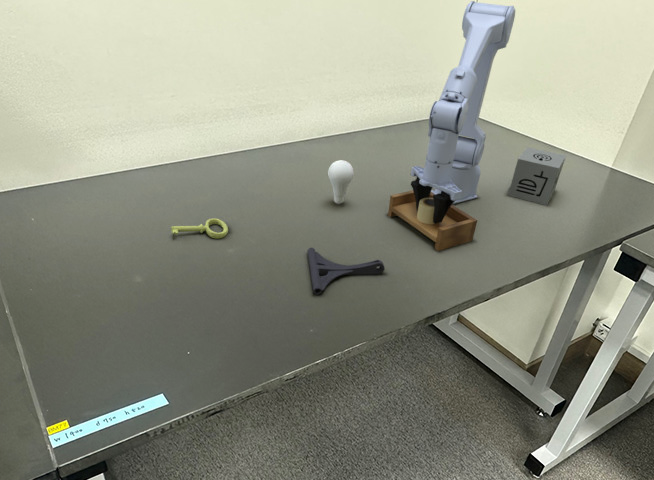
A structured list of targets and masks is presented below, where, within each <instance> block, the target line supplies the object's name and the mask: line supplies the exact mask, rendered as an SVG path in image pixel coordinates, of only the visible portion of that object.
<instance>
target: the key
mask: <svg viewBox="0 0 654 480" xmlns="http://www.w3.org/2000/svg"><path fill="white" fill-rule="evenodd" d="M211 225H218V226H220V227H221V228H222V231H221V232H216V231H213V230H212V229H211V228H210V226H211ZM170 228H171V229H170V231H171V233H172V235H174V236H175V235H179V233H184V232H185V233H186V232H188V233H190V232H200V234H203V232H205V233H206V234H207V235H208V237H210V238H212V239H223V238H225V237H226V236H227V234H228V233H229V228H228V225H227V224H226V222H225V221H223V220H221V219H219V218H216V217H215V218H209V219H207V220H206V221H205V225H203V224H202V223H200V224H199V225H176V226H175V225H173V226H171V227H170Z"/></svg>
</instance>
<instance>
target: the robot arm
mask: <svg viewBox="0 0 654 480" xmlns="http://www.w3.org/2000/svg"><path fill="white" fill-rule="evenodd" d="M462 16H463V18H462V21H461V29H462V37H463V38H464V39H465V42H464V45H463V49H462V52H461V55H460V58H459V62H458V66H456V67H454V68H452V69H451V70H450V71H449V74H448V76H447V78H446V82H445V84H444V87H443V89H442V91H441V94H440V96H439V98H438V100H435V101H434V102H433V103H432V106H431V108H430V112H429V116H428V132H427V136H428V138H429V139H428V145H427V149H426V150H427V151H426V157H425V162H424V167H422V166H420V165H416V166H412V167H411V168H410V169H411V170H410V176H411V177H416V178H415V180H412V181H411V182H410V186H411V189H412V190H413V191H414V195H415V200H416V210H417V212H418V207H419V201H420V200H421V199H423V198H429V195H430V192H432V193H434V194H435V195H433V199H434V215H433V223H435V224H436V223H440V222H442V220H443V218H444V216H445V214H446V213H447V211H448V209H449V208H450V206H451V205H455V204H459V203H462V202H466V201H471V200H474V199H477V198H478V195H477V190H478V185H479V182H480V178H481V166H480V165H479V164H480V162H481V159H482V157H483V154H484V150H485V143H486V133H485V131H484V130H483V128H481V126H479V124H478V122H479V119H480V116H481V115H480V114H481V110H482V106H483V103H484V99H485V94H486V90H487V87H488V84H489V78H490V75H491V71H492V66H493V63H494V59H495V57H496V55H497V53H498V51H499V50H503V49H505V48H507V46H508V45H507V44H508V43H509V41H510V37H511V33H512V29H513V27H514V22H515V19H516V8H515V6H514V5H502V4H495V3H494V4H493V3H485V2H476V1H475V0H471V1H469V3H468V4H467V5H466V7H465V9H464V12H463V15H462Z"/></svg>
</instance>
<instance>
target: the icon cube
mask: <svg viewBox="0 0 654 480" xmlns="http://www.w3.org/2000/svg"><path fill="white" fill-rule="evenodd" d="M566 158H567V155H566V154H561V153H556V152H551V151H547V150H542V149H538V148H533V147H528V146H527V147H526V148H525V149H524V150H523V152H522V153H521V154H520V156H518V158H517V161H516V164H515V169H514V172H513V175H512V179H511V183H510V187H509V190H508V193H507V196H509V197H513V198H517V199H521V200H525V201H529V202H532V203H536V204H540V205H543V206H548V204H549V202H550V200H551V198H552V196H553V194H554V193H555V191H556V187H557V185H558V181H559V178H560V175H561V173H562V169H563V166H564V163H565V161H566Z"/></svg>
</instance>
